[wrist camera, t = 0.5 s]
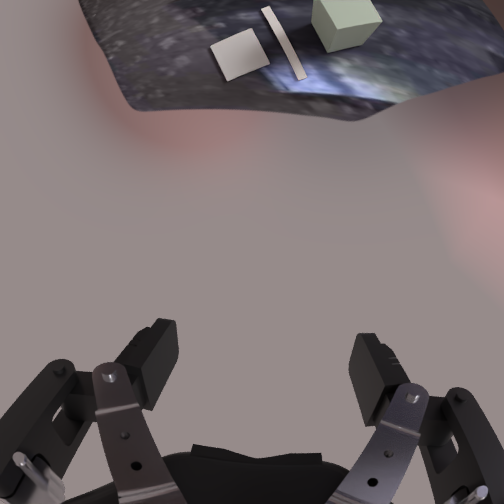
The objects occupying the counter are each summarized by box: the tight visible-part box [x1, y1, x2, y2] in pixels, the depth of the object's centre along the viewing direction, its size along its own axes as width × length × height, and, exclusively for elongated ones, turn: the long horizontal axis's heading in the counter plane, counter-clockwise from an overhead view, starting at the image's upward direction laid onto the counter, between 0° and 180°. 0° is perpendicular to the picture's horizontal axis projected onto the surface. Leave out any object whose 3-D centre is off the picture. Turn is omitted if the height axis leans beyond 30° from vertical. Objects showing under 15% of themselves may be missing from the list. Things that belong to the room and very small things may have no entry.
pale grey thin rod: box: [261, 6, 307, 80], centre depth 26 cm, size 12×1×1 cm, turn 23°
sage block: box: [311, 0, 382, 53], centre depth 20 cm, size 5×5×10 cm
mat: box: [210, 28, 270, 81], centre depth 28 cm, size 6×6×1 cm
